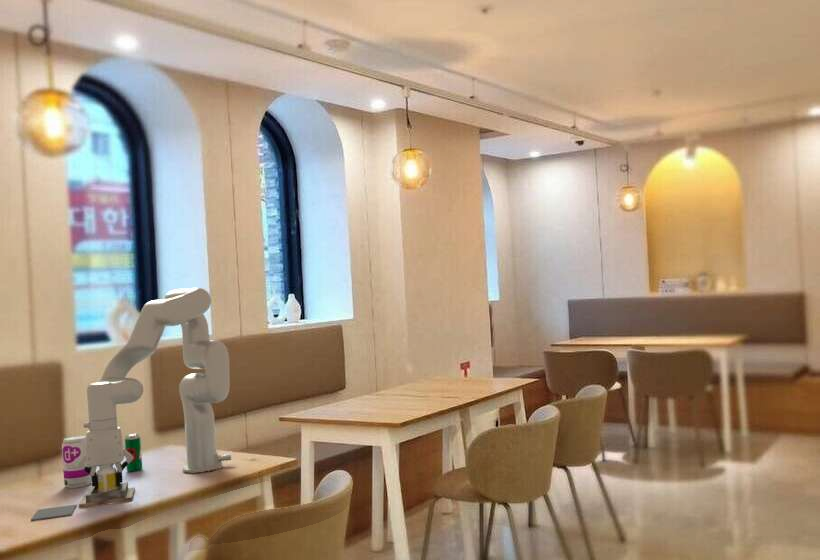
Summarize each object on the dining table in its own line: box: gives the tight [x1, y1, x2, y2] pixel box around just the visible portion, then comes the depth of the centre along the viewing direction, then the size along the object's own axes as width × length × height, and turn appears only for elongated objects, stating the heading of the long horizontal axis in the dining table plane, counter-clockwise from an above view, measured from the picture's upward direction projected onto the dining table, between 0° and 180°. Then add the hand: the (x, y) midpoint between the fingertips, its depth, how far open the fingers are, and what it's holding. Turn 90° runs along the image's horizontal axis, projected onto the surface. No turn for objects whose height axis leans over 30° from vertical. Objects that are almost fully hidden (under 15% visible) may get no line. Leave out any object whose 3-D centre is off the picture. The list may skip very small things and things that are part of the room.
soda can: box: [124, 433, 143, 473], centre depth 254 cm, size 5×5×12 cm
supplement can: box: [61, 435, 92, 489], centre depth 239 cm, size 8×8×15 cm
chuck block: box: [78, 481, 136, 509], centre depth 219 cm, size 14×12×3 cm
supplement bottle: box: [96, 464, 118, 493], centre depth 219 cm, size 5×5×10 cm
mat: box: [30, 504, 78, 522], centre depth 207 cm, size 10×10×1 cm
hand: (107, 486), depth 219 cm, fingers closed on supplement bottle, 5 cm apart
